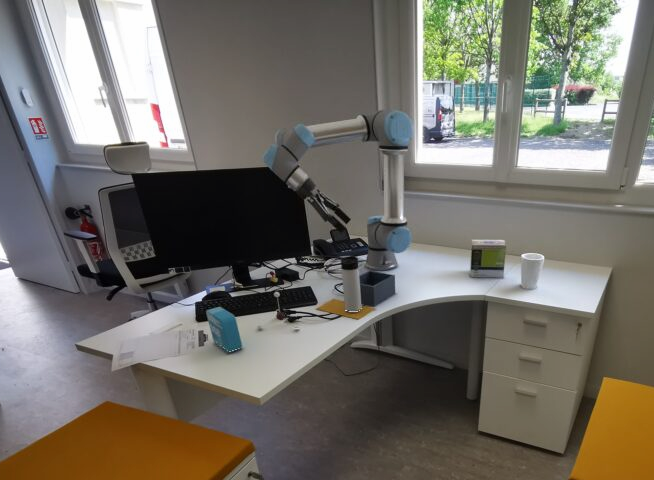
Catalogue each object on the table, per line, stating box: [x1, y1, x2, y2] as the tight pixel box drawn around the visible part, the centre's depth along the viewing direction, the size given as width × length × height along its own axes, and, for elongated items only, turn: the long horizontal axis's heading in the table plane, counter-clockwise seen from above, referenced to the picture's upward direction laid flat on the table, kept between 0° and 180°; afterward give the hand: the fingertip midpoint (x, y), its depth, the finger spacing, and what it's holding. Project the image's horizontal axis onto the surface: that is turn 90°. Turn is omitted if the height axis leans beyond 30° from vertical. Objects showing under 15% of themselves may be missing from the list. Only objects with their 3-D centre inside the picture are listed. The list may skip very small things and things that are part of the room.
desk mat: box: [315, 298, 376, 321], centre depth 174 cm, size 20×11×1 cm, turn 61°
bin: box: [359, 269, 396, 308], centre depth 183 cm, size 13×16×8 cm
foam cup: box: [520, 252, 545, 290], centre depth 191 cm, size 10×9×13 cm
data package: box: [205, 306, 243, 354], centre depth 145 cm, size 12×4×12 cm, turn 45°
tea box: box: [469, 239, 507, 278], centre depth 204 cm, size 15×10×15 cm
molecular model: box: [256, 291, 301, 332], centre depth 158 cm, size 13×15×13 cm
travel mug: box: [340, 255, 362, 314], centre depth 167 cm, size 6×7×20 cm
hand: (346, 226), depth 175 cm, fingers open, 13 cm apart
